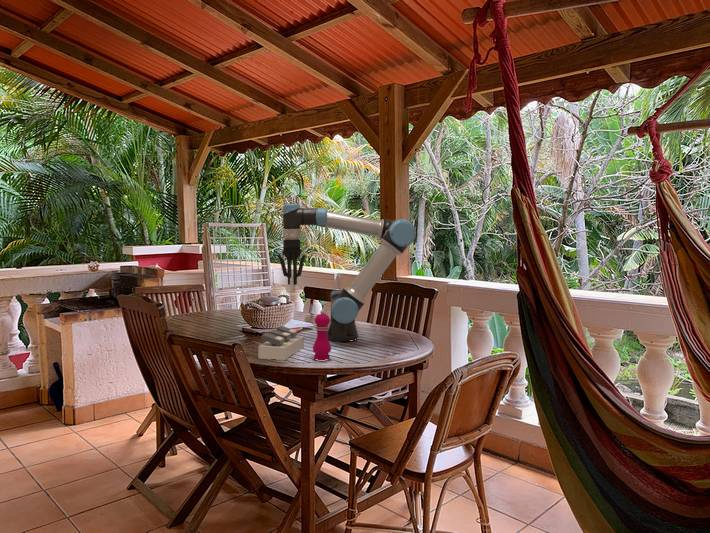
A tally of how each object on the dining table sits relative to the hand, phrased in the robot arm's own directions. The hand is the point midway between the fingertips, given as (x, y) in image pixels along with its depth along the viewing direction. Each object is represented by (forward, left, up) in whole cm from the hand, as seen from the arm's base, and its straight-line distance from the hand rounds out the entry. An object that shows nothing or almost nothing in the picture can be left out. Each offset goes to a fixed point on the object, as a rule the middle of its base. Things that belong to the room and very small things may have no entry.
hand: (292, 292), depth 240 cm
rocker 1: (0, +24, -16) cm, 29 cm away
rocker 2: (0, +16, -16) cm, 23 cm away
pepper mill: (-20, +22, -24) cm, 38 cm away
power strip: (-1, +13, -24) cm, 27 cm away
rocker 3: (0, +8, -16) cm, 18 cm away
